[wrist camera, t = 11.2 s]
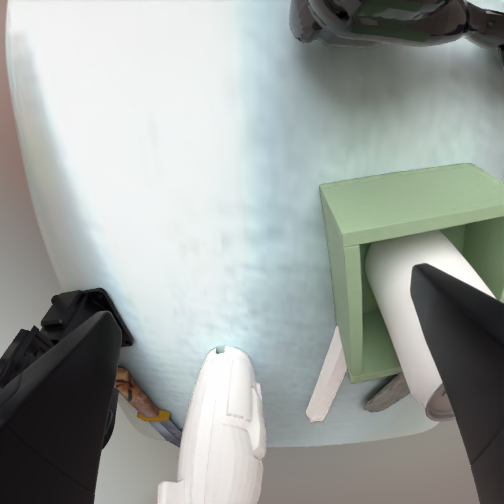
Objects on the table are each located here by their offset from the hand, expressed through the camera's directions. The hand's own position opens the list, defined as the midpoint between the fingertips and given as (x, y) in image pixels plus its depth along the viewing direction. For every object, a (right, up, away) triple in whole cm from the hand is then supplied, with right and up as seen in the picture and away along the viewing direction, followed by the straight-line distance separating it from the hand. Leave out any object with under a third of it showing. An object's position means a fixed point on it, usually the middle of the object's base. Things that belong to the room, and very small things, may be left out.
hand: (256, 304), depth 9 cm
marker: (+7, -11, +21) cm, 24 cm away
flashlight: (-2, -8, +20) cm, 22 cm away
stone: (+13, -11, +19) cm, 26 cm away
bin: (+11, +2, +13) cm, 18 cm away
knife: (-8, -19, +26) cm, 33 cm away
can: (+11, +1, +13) cm, 17 cm away
